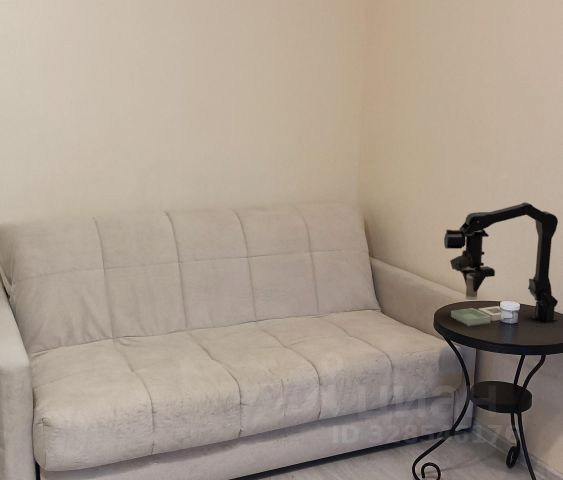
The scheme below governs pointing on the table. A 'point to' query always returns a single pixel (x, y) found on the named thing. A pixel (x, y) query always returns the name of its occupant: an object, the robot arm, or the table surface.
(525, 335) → the table surface
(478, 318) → the tray
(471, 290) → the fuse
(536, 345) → the table surface
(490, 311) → the socket block
